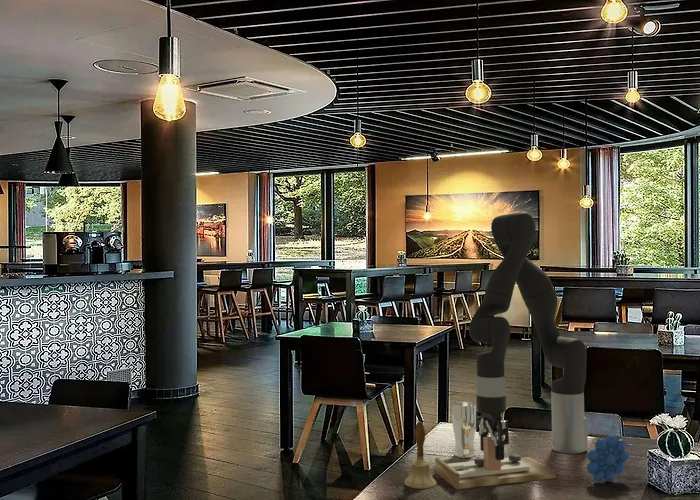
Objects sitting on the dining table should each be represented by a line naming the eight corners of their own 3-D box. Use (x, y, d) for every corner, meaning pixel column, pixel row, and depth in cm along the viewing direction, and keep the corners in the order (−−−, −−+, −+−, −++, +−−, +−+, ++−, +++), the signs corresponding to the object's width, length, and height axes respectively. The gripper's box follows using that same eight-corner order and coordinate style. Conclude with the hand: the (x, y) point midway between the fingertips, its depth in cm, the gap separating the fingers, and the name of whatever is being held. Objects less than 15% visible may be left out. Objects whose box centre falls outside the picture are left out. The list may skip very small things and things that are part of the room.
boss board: (528, 462, 197) (528, 446, 197) (555, 477, 184) (555, 460, 183) (435, 472, 190) (435, 455, 190) (456, 489, 176) (456, 471, 176)
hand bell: (438, 479, 184) (436, 418, 184) (434, 489, 176) (433, 426, 176) (406, 477, 186) (405, 417, 186) (401, 488, 178) (400, 425, 178)
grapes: (619, 474, 185) (619, 429, 185) (634, 483, 178) (634, 435, 178) (579, 478, 183) (578, 432, 183) (592, 486, 176) (591, 439, 176)
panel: (513, 460, 193) (512, 427, 193) (529, 470, 184) (528, 436, 184) (441, 468, 188) (441, 434, 188) (455, 478, 179) (454, 443, 179)
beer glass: (476, 459, 201) (475, 406, 201) (452, 458, 202) (451, 406, 202) (477, 452, 208) (476, 401, 208) (453, 451, 209) (452, 400, 209)
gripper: (517, 397, 177) (518, 461, 177) (491, 386, 191) (492, 446, 191) (490, 399, 175) (491, 464, 175) (466, 388, 189) (467, 449, 189)
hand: (492, 455), depth 183 cm, fingers open, 8 cm apart
